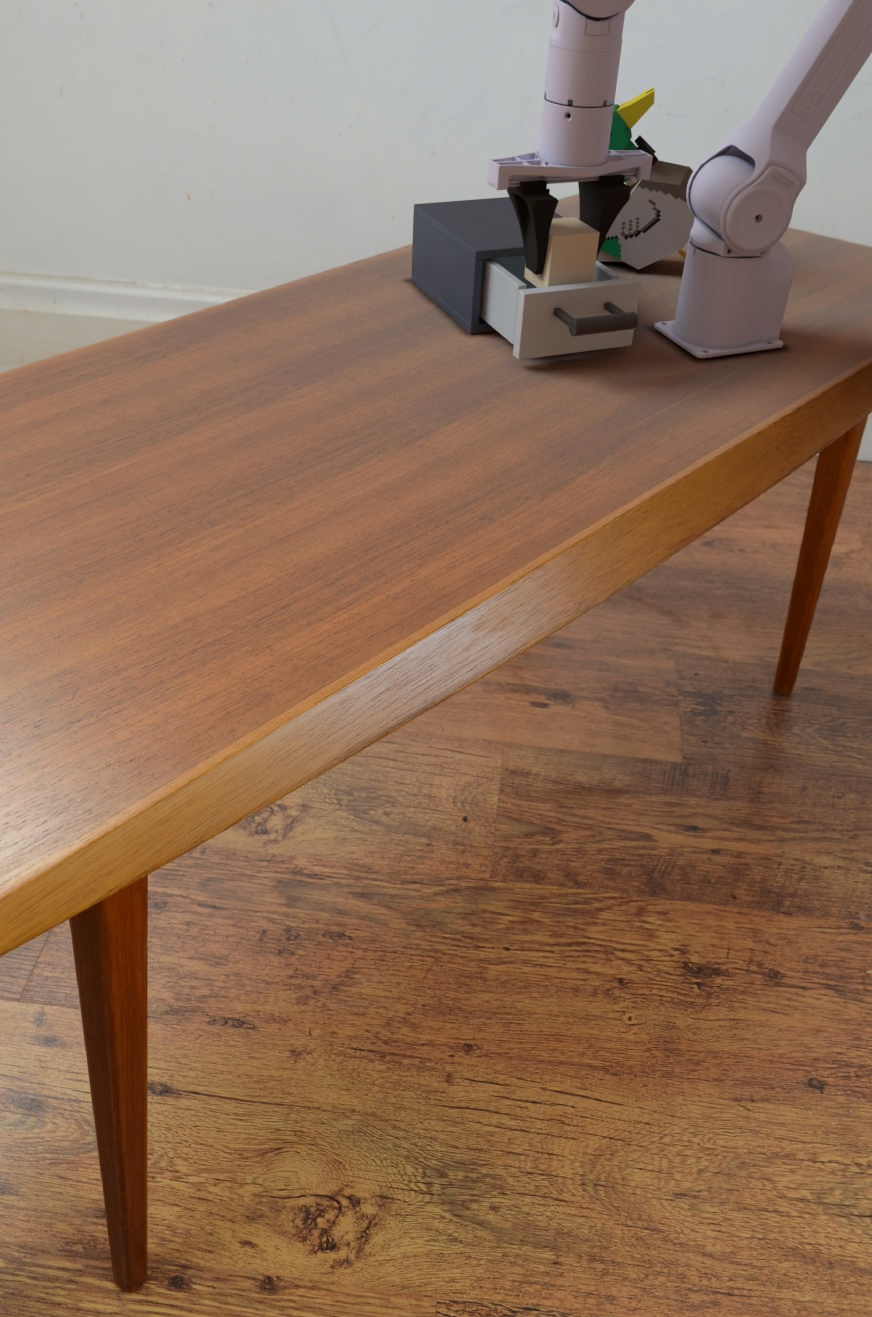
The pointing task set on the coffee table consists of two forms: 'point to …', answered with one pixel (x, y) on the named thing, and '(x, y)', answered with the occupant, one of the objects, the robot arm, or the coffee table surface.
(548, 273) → the block
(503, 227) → the cabinet
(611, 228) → the toy
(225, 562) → the coffee table surface
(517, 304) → the drawer
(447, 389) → the coffee table surface
